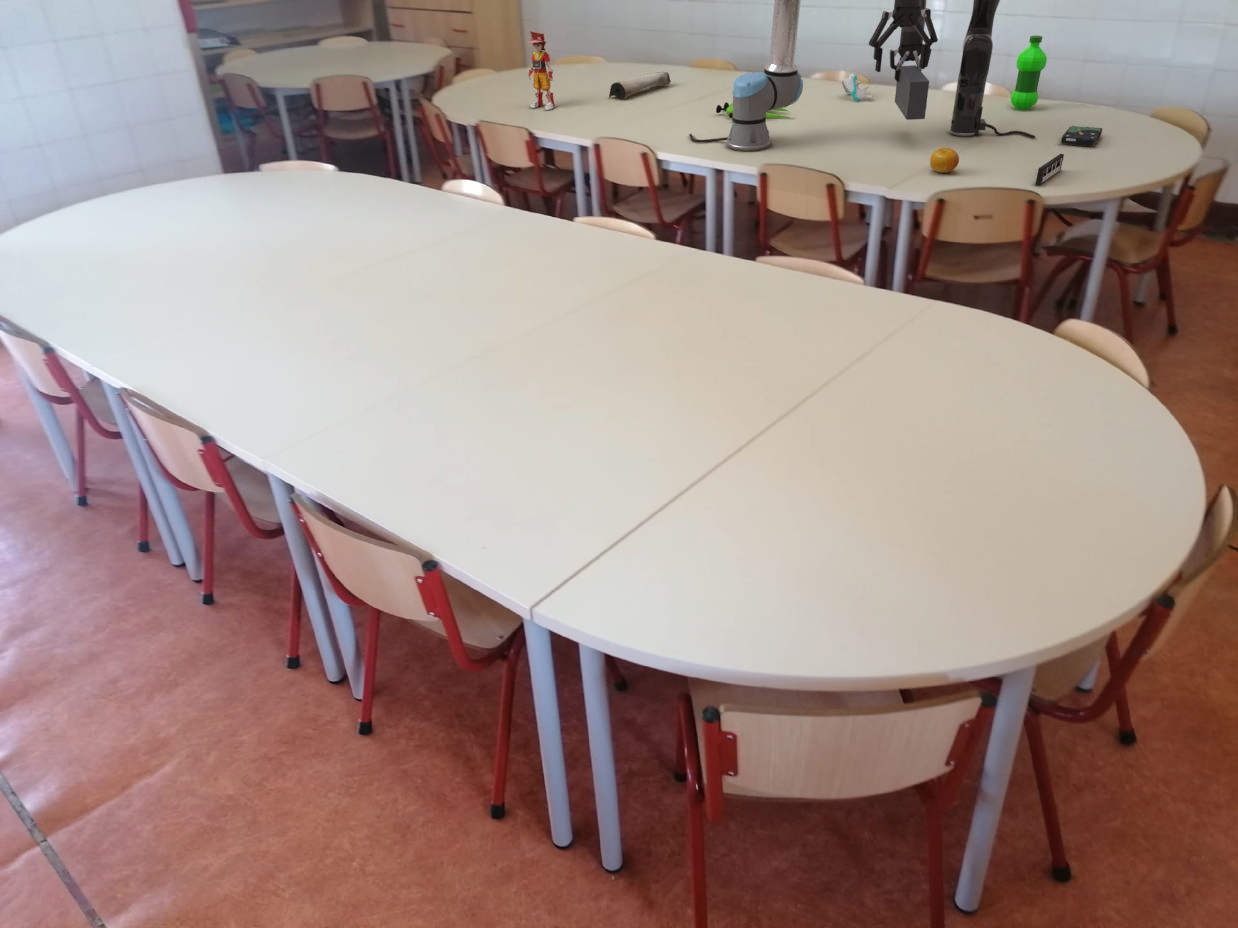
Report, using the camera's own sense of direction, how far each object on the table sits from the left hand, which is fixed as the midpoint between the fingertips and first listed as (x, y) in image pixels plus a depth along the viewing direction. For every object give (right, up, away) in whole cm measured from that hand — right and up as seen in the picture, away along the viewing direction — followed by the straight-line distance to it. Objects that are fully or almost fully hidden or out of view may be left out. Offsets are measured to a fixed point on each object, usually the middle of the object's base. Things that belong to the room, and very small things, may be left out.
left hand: (899, 70), depth 273 cm
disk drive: (+71, -10, +31) cm, 79 cm away
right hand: (+15, +14, +41) cm, 46 cm away
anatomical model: (+12, +31, +96) cm, 101 cm away
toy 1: (-118, +32, +110) cm, 165 cm away
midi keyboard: (+46, -33, +2) cm, 56 cm away
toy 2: (-31, +18, +81) cm, 88 cm away
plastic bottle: (+68, +15, +69) cm, 98 cm away
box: (+15, +3, +37) cm, 40 cm away
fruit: (+17, -27, +12) cm, 34 cm away
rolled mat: (-76, +45, +124) cm, 152 cm away
